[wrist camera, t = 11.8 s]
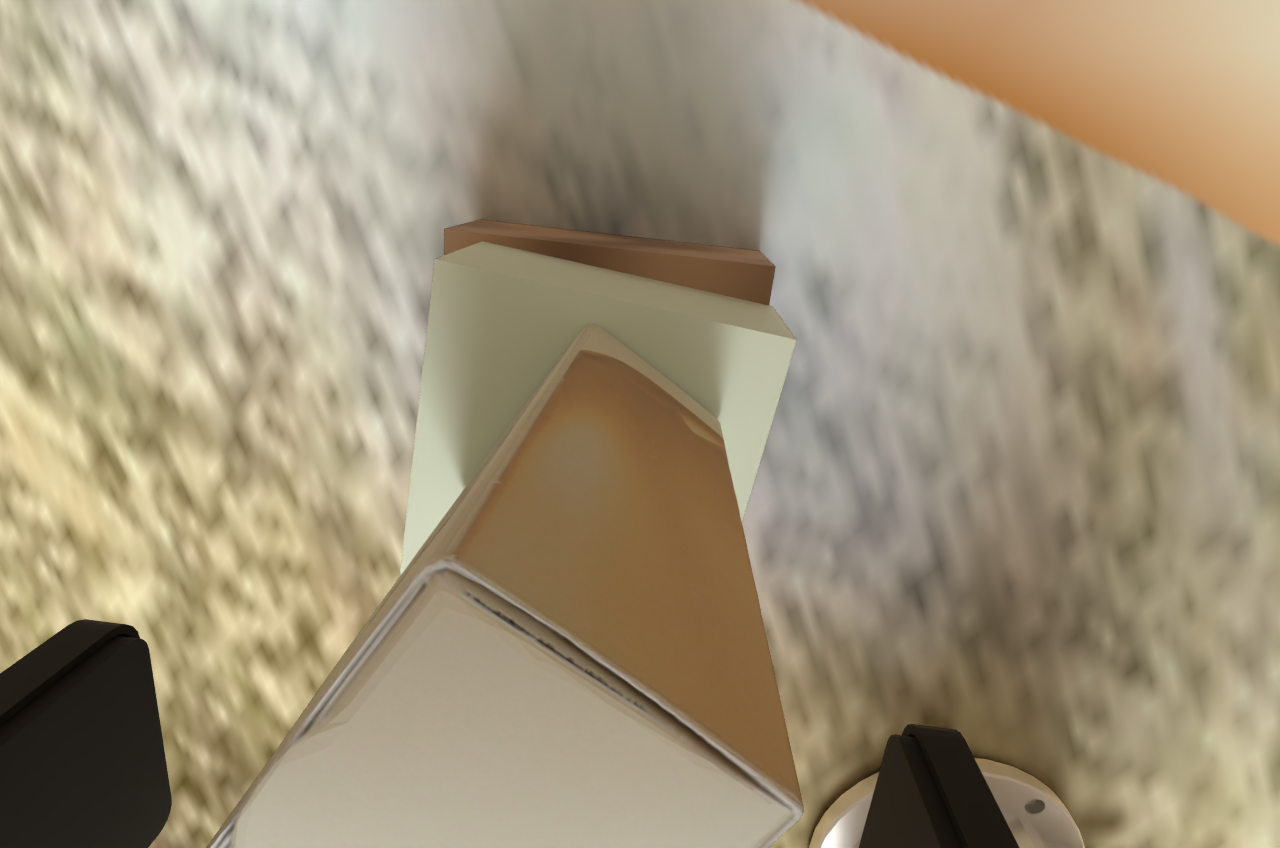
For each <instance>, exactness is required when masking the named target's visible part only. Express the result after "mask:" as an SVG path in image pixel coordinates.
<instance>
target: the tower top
mask: <svg viewBox="0 0 1280 848" xmlns="http://www.w3.org/2000/svg"><path fill="white" fill-rule="evenodd" d="M588 325H597V326H599V327H601V328H602V329H604V330H605V331H606V332H608V333H609V334H611V335H612V336H613V337H615V338H616V339H617V340H618V341H620V342H621V343H622V344H624V345H625V346H626V347H628V348H629V349H630V350H632V351H633V352H634V353H636V354H637V355H638V356H639V357H641V358H642V359H643V360H645V361H646V362H647V363H649V364H650V365H651V366H652V367H654V368H655V369H656V370H657V371H659V372H660V373H661V374H663V375H664V376H665V377H666V378H668V379H669V380H670V381H671V382H673V383H674V384H675V385H676V386H677V387H679V388H680V389H681V390H683V391H684V392H685V393H686V394H688V395H689V396H690V397H691V398H692V399H694V400H695V401H696V402H697V403H698V404H700V405H701V406H702V407H703V408H705V409H706V410H707V411H708V412H709V413H711V414H712V415H713V416H714V417H716V418H717V419H718V421H719V422H720V424H721V430H722V434H723V438H724V444H725V449H726V454H727V458H728V463H729V468H730V472H731V477H732V481H733V486H734V491H735V494H736V498H737V503H738V507H739V512H740V517H741V522H742V521H743V518H744V514H745V511H746V508H747V504H748V501H749V498H750V494H751V491H752V488H753V484H754V481H755V478H756V474H757V471H758V468H759V464H760V461H761V458H762V454H763V451H764V448H765V444H766V441H767V438H768V434H769V431H770V428H771V424H772V421H773V418H774V414H775V411H776V408H777V404H778V401H779V398H780V394H781V391H782V388H783V384H784V381H785V378H786V374H787V371H788V368H789V364H790V361H791V358H792V354H793V351H794V348H795V344H796V341H797V339H796V338H795V337H794V335H793V334H792V332H791V331H790V330H789V328H788V327H787V326H786V324H785V323H784V321H783V320H782V319H781V317H780V316H779V315H778V313H777V312H776V310H775V309H774V308H773V306H769V305H764V304H760V303H755V302H751V301H747V300H742V299H738V298H733V297H729V296H724V295H720V294H715V293H711V292H707V291H702V290H698V289H693V288H689V287H684V286H680V285H675V284H671V283H666V282H662V281H658V280H653V279H649V278H644V277H640V276H635V275H631V274H626V273H622V272H618V271H613V270H609V269H604V268H600V267H595V266H591V265H586V264H582V263H578V262H573V261H569V260H564V259H560V258H555V257H551V256H546V255H542V254H538V253H533V252H529V251H524V250H520V249H515V248H511V247H506V246H502V245H498V244H493V243H489V242H484V241H482V242H479V243H476V244H474V245H471V246H468V247H466V248H463V249H460V250H457V251H455V252H452V253H449V254H447V255H444V256H441V257H439V258H436V259H435V261H434V270H433V280H432V289H431V298H430V307H429V316H428V325H427V334H426V343H425V352H424V361H423V370H422V379H421V388H420V397H419V406H418V415H417V425H416V434H415V443H414V452H413V461H412V470H411V479H410V488H409V497H408V506H407V515H406V524H405V533H404V542H403V551H402V561H401V570H400V574H402V573H403V572H404V570H405V569H406V568H407V566H408V565H409V563H410V562H411V561H412V559H413V558H414V556H415V555H416V553H417V552H418V551H419V549H420V548H421V547H422V545H423V544H424V543H425V541H426V540H427V539H428V537H429V536H430V534H431V533H432V532H433V530H434V529H435V528H436V526H437V525H438V524H439V522H440V521H441V520H442V518H443V517H444V516H445V514H446V513H447V512H448V510H449V509H450V508H451V506H452V505H453V503H454V502H455V501H456V499H457V498H458V497H459V495H460V494H461V492H462V491H463V490H464V488H465V487H466V485H467V484H468V483H469V481H470V480H471V478H472V477H473V476H474V474H475V473H476V471H477V470H478V468H479V467H480V466H481V464H482V463H483V461H484V460H485V458H486V457H487V456H488V454H489V453H490V451H491V450H492V449H493V447H494V446H495V444H496V443H497V442H498V440H499V439H500V437H501V436H502V435H503V433H504V432H505V430H506V429H507V428H508V426H509V425H510V424H511V422H512V421H513V419H514V418H515V417H516V415H517V414H518V413H519V411H520V410H521V409H522V407H523V406H524V404H525V403H526V402H527V400H528V399H529V398H530V397H531V395H532V394H533V393H534V391H535V390H536V389H537V388H538V386H539V385H540V383H541V382H542V381H543V379H544V378H545V377H546V375H547V374H548V373H549V372H550V370H551V369H552V368H553V366H554V365H555V364H556V363H557V361H558V360H559V359H560V358H561V356H562V355H563V354H564V353H565V351H566V350H567V349H568V348H569V346H570V345H571V344H572V342H573V341H574V340H575V339H576V337H577V336H578V335H579V334H580V332H581V331H582V330H583V329H584V328H585V327H586V326H588Z"/></svg>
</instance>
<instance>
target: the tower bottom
mask: <svg viewBox="0 0 1280 848" xmlns="http://www.w3.org/2000/svg"><path fill="white" fill-rule="evenodd" d="M482 241H484V242H489V243H493V244H498V245H502V246H506V247H511V248H515V249H520V250H524V251H529V252H533V253H538V254H542V255H546V256H551V257H555V258H560V259H564V260H569V261H573V262H578V263H582V264H586V265H591V266H595V267H600V268H604V269H609V270H613V271H618V272H622V273H626V274H631V275H635V276H640V277H644V278H649V279H653V280H658V281H662V282H666V283H671V284H675V285H680V286H684V287H689V288H693V289H698V290H702V291H707V292H711V293H715V294H720V295H724V296H729V297H733V298H738V299H742V300H747V301H751V302H755V303H760V304H764V305H769V302H770V296H771V290H772V284H773V278H774V272H775V265H774V264H773V263H772V262H770V261H769V260H768V259H767V258H766V257H765V256H764V255H763V254H762V253H761V252H760V251H755V250H746V249H737V248H728V247H719V246H710V245H702V244H693V243H684V242H675V241H666V240H657V239H648V238H639V237H631V236H622V235H613V234H604V233H595V232H586V231H577V230H569V229H560V228H551V227H542V226H533V225H524V224H515V223H506V222H498V221H489V220H477V221H473V222H469V223H465V224H461V225H457V226H454V227H450V228H446V229H444V255H447V254H449V253H452V252H455V251H457V250H460V249H463V248H466V247H468V246H471V245H474V244H476V243H479V242H482Z"/></svg>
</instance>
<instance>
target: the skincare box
mask: <svg viewBox="0 0 1280 848" xmlns="http://www.w3.org/2000/svg"><path fill="white" fill-rule="evenodd" d="M803 812H804V806H803V802H802V797H801V793H800V788H799V784H798V779H797V775H796V770H795V765H794V761H793V756H792V752H791V748H790V743H789V738H788V733H787V728H786V724H785V719H784V715H783V710H782V705H781V701H780V696H779V692H778V687H777V683H776V678H775V673H774V669H773V664H772V660H771V655H770V651H769V646H768V641H767V637H766V633H765V628H764V624H763V620H762V615H761V610H760V605H759V600H758V595H757V591H756V586H755V582H754V578H753V574H752V569H751V564H750V560H749V555H748V550H747V545H746V540H745V535H744V531H743V526H742V522H741V517H740V512H739V507H738V503H737V498H736V494H735V491H734V486H733V481H732V477H731V472H730V468H729V463H728V458H727V454H726V449H725V444H724V438H723V434H722V430H721V424H720V422H719V421H718V419H717V418H716V417H714V416H713V415H712V414H711V413H709V412H708V411H707V410H706V409H705V408H703V407H702V406H701V405H700V404H698V403H697V402H696V401H695V400H694V399H692V398H691V397H690V396H689V395H688V394H686V393H685V392H684V391H683V390H681V389H680V388H679V387H677V386H676V385H675V384H674V383H673V382H671V381H670V380H669V379H668V378H666V377H665V376H664V375H663V374H661V373H660V372H659V371H657V370H656V369H655V368H654V367H652V366H651V365H650V364H649V363H647V362H646V361H645V360H643V359H642V358H641V357H639V356H638V355H637V354H636V353H634V352H633V351H632V350H630V349H629V348H628V347H626V346H625V345H624V344H622V343H621V342H620V341H618V340H617V339H616V338H615V337H613V336H612V335H611V334H609V333H608V332H606V331H605V330H604V329H602V328H601V327H599V326H597V325H588V326H586V327H585V328H584V329H583V330H582V331H581V332H580V334H579V335H578V336H577V337H576V339H575V340H574V341H573V342H572V344H571V345H570V346H569V348H568V349H567V350H566V351H565V353H564V354H563V355H562V356H561V358H560V359H559V360H558V361H557V363H556V364H555V365H554V366H553V368H552V369H551V370H550V372H549V373H548V374H547V375H546V377H545V378H544V379H543V381H542V382H541V383H540V385H539V386H538V388H537V389H536V390H535V391H534V393H533V394H532V395H531V397H530V398H529V399H528V400H527V402H526V403H525V404H524V406H523V407H522V409H521V410H520V411H519V413H518V414H517V415H516V417H515V418H514V419H513V421H512V422H511V424H510V425H509V426H508V428H507V429H506V430H505V432H504V433H503V435H502V436H501V437H500V439H499V440H498V442H497V443H496V444H495V446H494V447H493V449H492V450H491V451H490V453H489V454H488V456H487V457H486V458H485V460H484V461H483V463H482V464H481V466H480V467H479V468H478V470H477V471H476V473H475V474H474V476H473V477H472V478H471V480H470V481H469V483H468V484H467V485H466V487H465V488H464V490H463V491H462V492H461V494H460V495H459V497H458V498H457V499H456V501H455V502H454V503H453V505H452V506H451V508H450V509H449V510H448V512H447V513H446V514H445V516H444V517H443V518H442V520H441V521H440V522H439V524H438V525H437V526H436V528H435V529H434V530H433V532H432V533H431V534H430V536H429V537H428V539H427V540H426V541H425V543H424V544H423V545H422V547H421V548H420V549H419V551H418V552H417V553H416V555H415V556H414V558H413V559H412V561H411V562H410V563H409V565H408V566H407V568H406V569H405V570H404V572H403V573H402V575H401V576H400V577H399V579H398V580H397V581H396V583H395V584H394V586H393V587H392V588H391V590H390V591H389V593H388V594H387V595H386V597H385V598H384V599H383V601H382V602H381V604H380V605H379V606H378V608H377V609H376V611H375V612H374V613H373V615H372V616H371V617H370V619H369V620H368V622H367V623H366V624H365V626H364V627H363V629H362V630H361V631H360V633H359V634H358V635H357V637H356V638H355V640H354V641H353V642H352V644H351V645H350V646H349V648H348V649H347V651H346V652H345V653H344V655H343V656H342V658H341V659H340V660H339V662H338V663H337V664H336V666H335V667H334V669H333V670H332V671H331V673H330V674H329V676H328V677H327V678H326V680H325V681H324V683H323V684H322V686H321V687H320V688H319V690H318V691H317V693H316V694H315V696H314V697H313V698H312V700H311V701H310V703H309V704H308V706H307V707H306V708H305V710H304V711H303V713H302V714H301V716H300V717H299V718H298V720H297V721H296V723H295V724H294V726H293V727H292V728H291V730H290V731H289V733H288V734H287V736H286V737H285V738H284V740H283V741H282V743H281V744H280V746H279V747H278V748H277V750H276V751H275V753H274V754H273V755H272V757H271V758H270V760H269V761H268V762H267V764H266V765H265V767H264V768H263V769H262V771H261V772H260V774H259V775H258V776H257V778H256V779H255V780H254V782H253V783H252V785H251V786H250V787H249V789H248V790H247V792H246V793H245V794H244V796H243V797H242V799H241V800H240V801H239V803H238V804H237V806H236V807H235V808H234V810H233V811H232V812H231V814H230V815H229V817H228V818H227V819H226V821H225V822H224V824H223V825H222V826H221V828H220V829H219V831H218V832H217V833H216V835H215V836H214V838H213V839H212V840H211V842H210V843H209V845H208V846H207V848H769V847H770V846H771V845H773V844H774V843H775V842H776V841H777V840H778V839H779V838H780V837H781V836H782V835H783V834H784V833H785V832H786V831H787V830H789V829H790V828H791V827H792V826H793V825H794V824H795V823H796V822H797V821H798V820H799V819H800V818H801V816H802V814H803Z"/></svg>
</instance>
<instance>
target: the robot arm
mask: <svg viewBox="0 0 1280 848" xmlns="http://www.w3.org/2000/svg"><path fill="white" fill-rule="evenodd" d="M171 805H172V804H171V792H170V785H169V779H168V772H167V765H166V759H165V752H164V746H163V739H162V732H161V726H160V719H159V712H158V706H157V699H156V693H155V686H154V679H153V673H152V666H151V659H150V653H149V648H148V645H147V643H146V642H145V641H144V640H143V639H140V637H139V634H138V631H137V630H136V629H135V628H134V627H133V626H130V625H126V624H118V623H110V622H102V621H94V620H86V619H85V620H79V621H76V622H74V623H72V624H70V625H68V626H67V627H65V628H64V629H62V630H61V631H60V632H58V633H57V634H55V635H54V636H53V637H51V638H50V639H48V640H47V641H45V642H44V643H43V644H41V645H40V646H38V647H37V648H36V649H34V650H33V651H31V652H30V653H29V654H27V655H26V656H24V657H23V658H22V659H20V660H19V661H17V662H16V663H15V664H13V665H12V666H10V667H9V668H7V669H6V670H5V671H3V672H2V673H0V848H148V847H149V846H150V845H151V843H152V842H153V841H154V840H155V838H156V837H157V836H158V835H159V833H160V832H161V830H162V829H163V827H164V825H165V823H166V821H167V819H168V816H169V814H170V810H171ZM809 848H1085V846H1084V843H1083V840H1082V837H1081V834H1080V830H1079V828H1078V827H1077V825H1076V823H1075V821H1074V820H1073V818H1072V816H1071V815H1070V813H1069V811H1068V810H1067V808H1066V806H1065V805H1064V804H1063V803H1062V801H1061V800H1060V799H1059V798H1058V797H1057V796H1056V794H1055V793H1054V792H1053V791H1052V790H1051V789H1050V788H1049V787H1047V786H1046V785H1045V784H1043V783H1042V782H1040V781H1039V780H1038V779H1036V778H1035V777H1034V776H1032V775H1030V774H1027V773H1025V772H1023V771H1021V770H1019V769H1017V768H1015V767H1013V766H1010V765H1006V764H1002V763H999V762H995V761H992V760H988V759H980V758H974V757H973V755H972V753H971V751H970V749H969V747H968V745H967V743H966V741H965V739H964V738H963V736H962V735H961V733H960V732H958V731H957V730H954V729H946V728H938V727H930V726H922V725H915V724H910V725H907V726H906V728H905V729H904V731H903V733H902V736H901V735H891V736H890V738H889V740H888V742H887V746H886V749H885V753H884V756H883V760H882V764H881V767H880V771H879V772H877V773H876V774H874V775H872V776H870V777H868V778H866V779H864V780H862V781H860V782H859V783H857V784H856V785H854V786H853V787H852V788H850V789H849V790H848V791H846V792H845V793H844V794H842V795H841V796H840V797H839V798H838V799H837V800H836V801H835V802H834V803H833V804H832V805H831V806H830V807H829V809H828V810H827V811H826V812H825V813H824V815H823V817H822V818H821V820H820V822H819V823H818V825H817V827H816V828H815V831H814V834H813V837H812V840H811V843H810V846H809Z"/></svg>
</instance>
